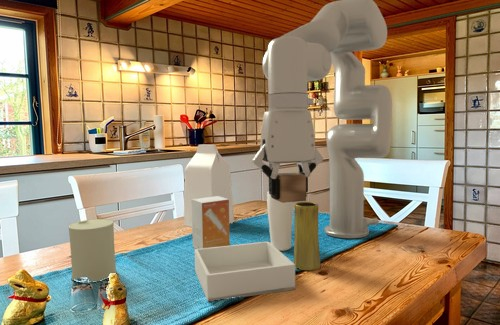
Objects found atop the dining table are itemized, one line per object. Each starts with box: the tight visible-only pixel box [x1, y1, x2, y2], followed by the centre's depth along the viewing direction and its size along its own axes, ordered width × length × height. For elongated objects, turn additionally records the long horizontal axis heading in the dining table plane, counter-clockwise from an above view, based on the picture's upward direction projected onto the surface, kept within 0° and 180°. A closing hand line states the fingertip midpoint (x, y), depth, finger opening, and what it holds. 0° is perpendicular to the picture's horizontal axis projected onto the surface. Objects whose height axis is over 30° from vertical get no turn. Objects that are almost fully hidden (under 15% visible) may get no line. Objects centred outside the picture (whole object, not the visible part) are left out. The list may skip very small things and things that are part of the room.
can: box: [68, 218, 117, 282], centre depth 87 cm, size 9×9×12 cm
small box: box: [191, 196, 231, 249], centre depth 105 cm, size 8×6×13 cm
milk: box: [183, 144, 235, 228], centre depth 129 cm, size 12×12×26 cm
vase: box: [293, 201, 321, 271], centre depth 90 cm, size 6×6×14 cm
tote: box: [194, 241, 296, 303], centre depth 83 cm, size 17×16×5 cm
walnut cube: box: [273, 172, 307, 203], centre depth 78 cm, size 5×5×5 cm
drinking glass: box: [266, 190, 295, 252], centre depth 103 cm, size 7×7×15 cm
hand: (288, 196), depth 79 cm, fingers closed on walnut cube, 5 cm apart
